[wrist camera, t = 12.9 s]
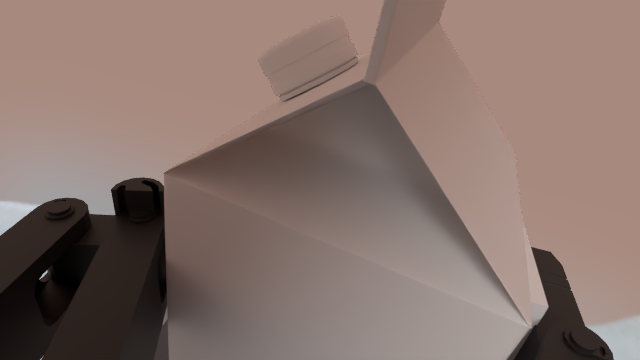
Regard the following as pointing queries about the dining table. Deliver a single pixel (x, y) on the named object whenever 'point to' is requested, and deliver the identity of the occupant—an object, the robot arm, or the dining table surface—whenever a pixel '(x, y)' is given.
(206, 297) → the milk carton
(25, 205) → the dining table surface
